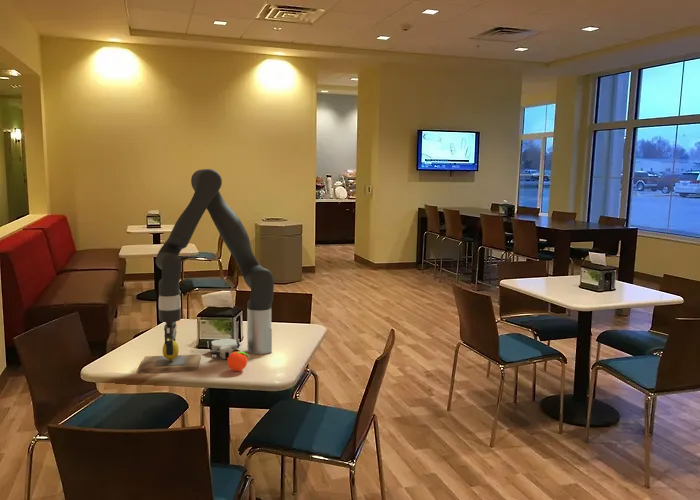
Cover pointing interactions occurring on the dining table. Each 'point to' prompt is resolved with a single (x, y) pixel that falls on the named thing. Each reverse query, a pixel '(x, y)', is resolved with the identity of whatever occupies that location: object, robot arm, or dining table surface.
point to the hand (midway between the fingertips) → (171, 351)
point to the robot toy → (223, 347)
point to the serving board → (170, 363)
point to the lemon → (175, 351)
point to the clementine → (237, 361)
